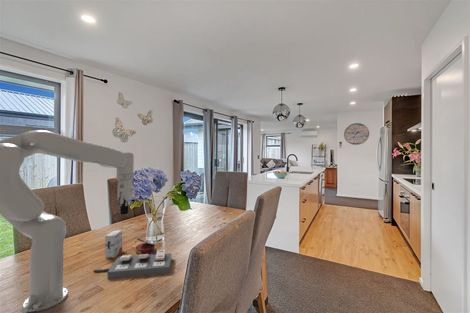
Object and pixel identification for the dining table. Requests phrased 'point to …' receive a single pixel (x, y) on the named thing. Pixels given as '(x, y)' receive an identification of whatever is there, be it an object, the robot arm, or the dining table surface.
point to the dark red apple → (145, 248)
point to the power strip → (138, 267)
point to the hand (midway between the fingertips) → (124, 213)
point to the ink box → (113, 244)
